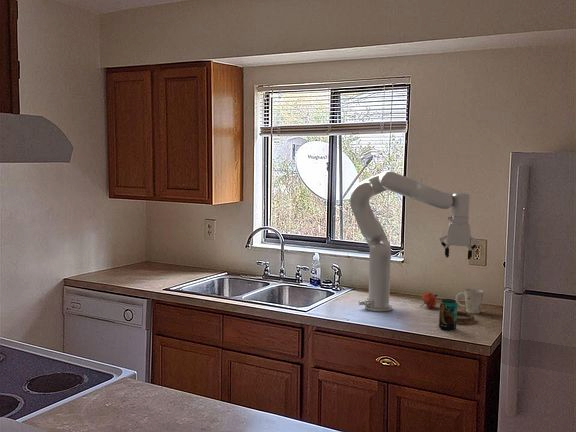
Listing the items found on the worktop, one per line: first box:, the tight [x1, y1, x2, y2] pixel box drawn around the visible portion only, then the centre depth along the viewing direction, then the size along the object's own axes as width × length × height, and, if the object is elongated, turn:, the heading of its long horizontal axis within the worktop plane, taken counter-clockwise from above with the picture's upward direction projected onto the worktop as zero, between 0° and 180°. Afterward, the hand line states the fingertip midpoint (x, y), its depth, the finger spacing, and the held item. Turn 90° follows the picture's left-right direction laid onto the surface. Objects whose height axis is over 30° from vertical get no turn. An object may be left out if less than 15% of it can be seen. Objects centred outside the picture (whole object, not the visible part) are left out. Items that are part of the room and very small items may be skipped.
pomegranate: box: [419, 292, 439, 309], centre depth 299 cm, size 7×7×10 cm
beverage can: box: [438, 298, 458, 332], centre depth 262 cm, size 7×7×12 cm
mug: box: [455, 288, 484, 315], centre depth 292 cm, size 8×13×10 cm, turn 58°
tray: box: [456, 310, 476, 325], centre depth 277 cm, size 14×14×2 cm
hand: (458, 258), depth 287 cm, fingers open, 9 cm apart
